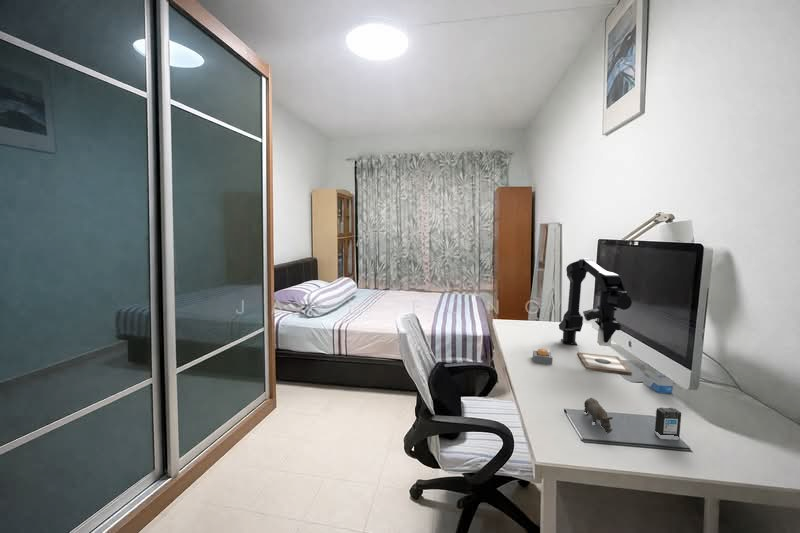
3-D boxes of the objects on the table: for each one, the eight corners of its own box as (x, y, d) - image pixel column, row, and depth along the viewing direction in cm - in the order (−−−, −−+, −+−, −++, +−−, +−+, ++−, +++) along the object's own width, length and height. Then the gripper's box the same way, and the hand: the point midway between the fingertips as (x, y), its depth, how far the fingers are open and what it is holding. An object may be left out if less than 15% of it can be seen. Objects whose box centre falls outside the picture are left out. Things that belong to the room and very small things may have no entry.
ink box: (673, 393, 120) (676, 360, 118) (658, 393, 120) (662, 360, 118) (655, 382, 128) (658, 351, 127) (642, 382, 128) (644, 351, 127)
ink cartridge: (660, 440, 93) (662, 411, 92) (654, 435, 95) (656, 407, 94) (679, 440, 92) (681, 412, 92) (673, 435, 95) (675, 407, 94)
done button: (536, 355, 150) (537, 348, 150) (546, 356, 149) (547, 349, 149) (537, 358, 147) (538, 351, 146) (547, 359, 145) (548, 352, 145)
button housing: (532, 356, 152) (533, 350, 152) (550, 358, 150) (550, 352, 150) (533, 362, 146) (534, 355, 146) (552, 364, 144) (552, 357, 143)
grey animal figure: (601, 439, 93) (603, 418, 92) (580, 412, 106) (581, 393, 106) (618, 440, 92) (620, 419, 92) (594, 413, 106) (595, 394, 105)
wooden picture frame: (577, 354, 157) (577, 351, 157) (617, 358, 152) (618, 356, 152) (585, 369, 140) (586, 366, 139) (631, 374, 135) (631, 372, 135)
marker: (597, 342, 148) (598, 325, 147) (607, 343, 146) (609, 326, 146) (599, 345, 144) (601, 328, 143) (610, 346, 143) (612, 329, 142)
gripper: (581, 298, 154) (578, 332, 156) (590, 307, 137) (587, 345, 138) (609, 300, 151) (606, 335, 153) (622, 309, 133) (619, 349, 135)
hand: (604, 340), depth 145 cm, fingers closed on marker, 4 cm apart
